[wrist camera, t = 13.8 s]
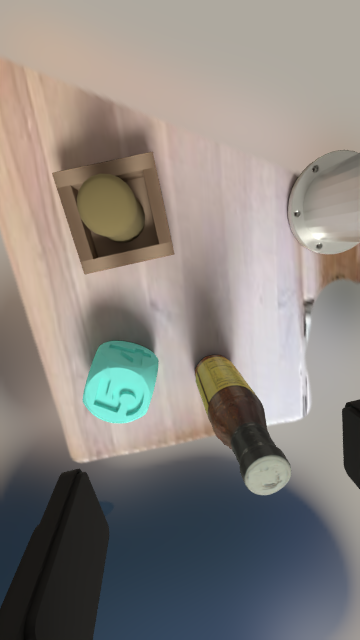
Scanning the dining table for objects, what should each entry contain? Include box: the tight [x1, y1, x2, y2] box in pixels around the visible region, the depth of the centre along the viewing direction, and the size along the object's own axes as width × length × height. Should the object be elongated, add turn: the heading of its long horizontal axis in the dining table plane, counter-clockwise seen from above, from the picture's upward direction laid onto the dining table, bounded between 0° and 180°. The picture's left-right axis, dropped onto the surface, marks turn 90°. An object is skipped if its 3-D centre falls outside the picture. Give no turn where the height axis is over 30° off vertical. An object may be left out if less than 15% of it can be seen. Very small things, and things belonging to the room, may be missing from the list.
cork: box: [77, 174, 145, 243], centre depth 27 cm, size 6×6×11 cm
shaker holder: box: [52, 152, 174, 274], centre depth 31 cm, size 11×11×4 cm
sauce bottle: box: [195, 355, 291, 495], centre depth 30 cm, size 7×6×20 cm
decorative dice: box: [83, 341, 158, 423], centre depth 34 cm, size 8×8×8 cm
